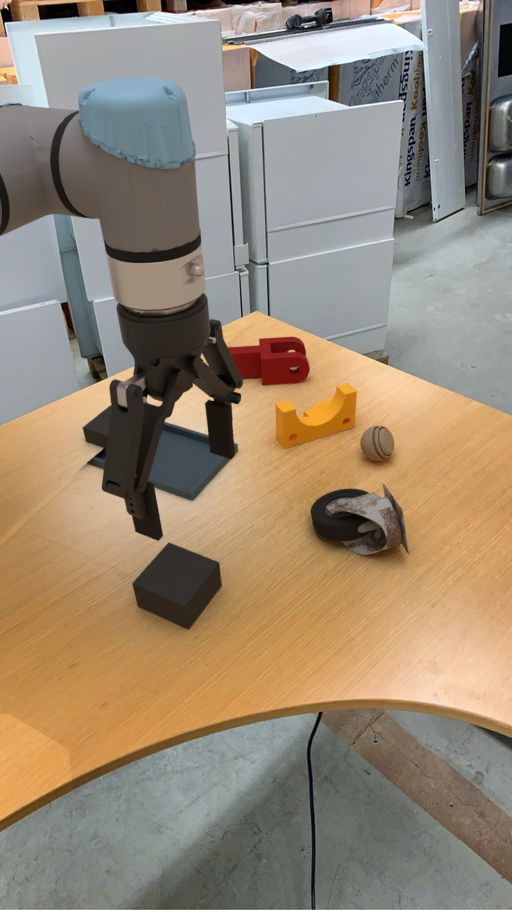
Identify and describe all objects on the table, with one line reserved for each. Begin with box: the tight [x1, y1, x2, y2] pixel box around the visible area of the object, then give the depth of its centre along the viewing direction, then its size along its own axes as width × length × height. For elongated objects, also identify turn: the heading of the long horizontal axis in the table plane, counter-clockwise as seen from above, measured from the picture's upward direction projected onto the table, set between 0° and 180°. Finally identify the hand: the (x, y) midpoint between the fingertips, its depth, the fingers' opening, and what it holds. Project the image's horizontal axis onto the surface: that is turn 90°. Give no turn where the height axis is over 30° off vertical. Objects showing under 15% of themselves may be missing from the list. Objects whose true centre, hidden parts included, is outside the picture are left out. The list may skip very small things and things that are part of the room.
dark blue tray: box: [86, 421, 239, 502], centre depth 95 cm, size 21×12×2 cm, turn 61°
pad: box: [82, 404, 112, 455], centre depth 97 cm, size 7×7×4 cm
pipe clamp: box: [274, 382, 358, 450], centre depth 98 cm, size 12×4×6 cm, turn 114°
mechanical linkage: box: [227, 336, 311, 386], centre depth 112 cm, size 16×7×5 cm, turn 93°
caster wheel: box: [309, 482, 410, 555], centre depth 80 cm, size 7×11×10 cm
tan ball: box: [359, 425, 395, 462], centre depth 92 cm, size 5×5×5 cm
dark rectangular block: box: [132, 542, 223, 631], centre depth 74 cm, size 7×7×4 cm
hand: (188, 491), depth 67 cm, fingers open, 13 cm apart
